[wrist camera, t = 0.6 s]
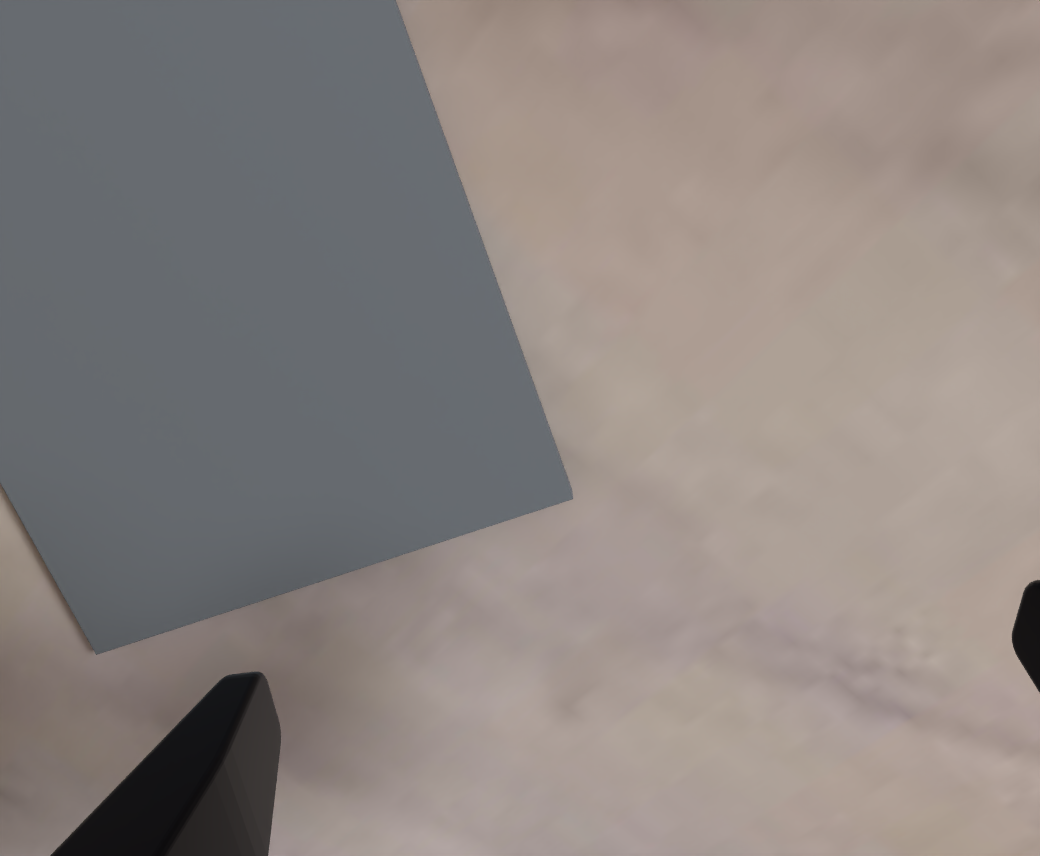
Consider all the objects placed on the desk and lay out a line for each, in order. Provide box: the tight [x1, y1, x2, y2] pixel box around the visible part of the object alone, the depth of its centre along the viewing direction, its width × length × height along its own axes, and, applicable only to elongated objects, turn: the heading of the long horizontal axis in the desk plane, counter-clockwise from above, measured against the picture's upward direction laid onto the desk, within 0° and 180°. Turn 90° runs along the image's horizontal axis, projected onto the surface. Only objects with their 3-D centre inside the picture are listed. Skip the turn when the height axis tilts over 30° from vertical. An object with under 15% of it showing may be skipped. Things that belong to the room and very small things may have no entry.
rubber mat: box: [0, 0, 573, 655], centre depth 21 cm, size 20×16×1 cm
